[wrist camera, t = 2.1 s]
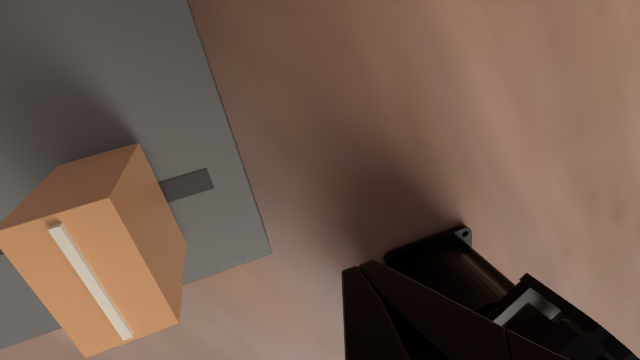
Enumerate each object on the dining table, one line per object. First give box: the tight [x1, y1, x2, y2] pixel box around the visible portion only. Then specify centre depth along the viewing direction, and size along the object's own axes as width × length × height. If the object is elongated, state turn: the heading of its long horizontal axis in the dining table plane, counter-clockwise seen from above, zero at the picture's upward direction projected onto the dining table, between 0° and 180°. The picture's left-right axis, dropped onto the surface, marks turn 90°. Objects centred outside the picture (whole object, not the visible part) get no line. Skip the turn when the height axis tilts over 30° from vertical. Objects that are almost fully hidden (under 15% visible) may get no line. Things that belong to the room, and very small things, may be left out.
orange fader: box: [0, 143, 186, 358], centre depth 13 cm, size 3×5×5 cm, turn 11°
